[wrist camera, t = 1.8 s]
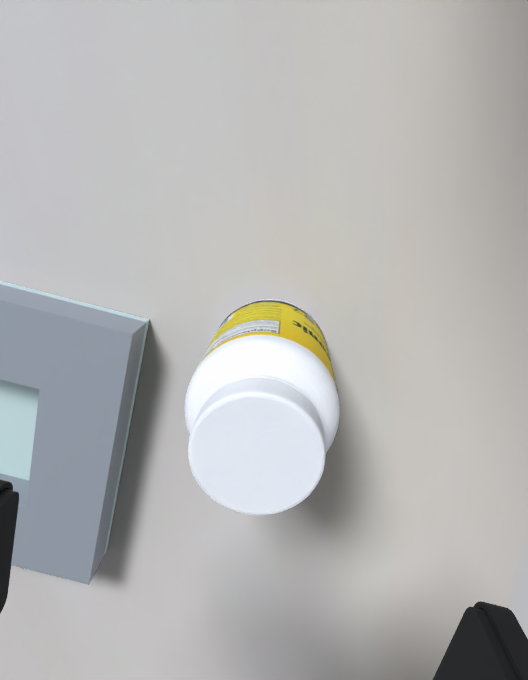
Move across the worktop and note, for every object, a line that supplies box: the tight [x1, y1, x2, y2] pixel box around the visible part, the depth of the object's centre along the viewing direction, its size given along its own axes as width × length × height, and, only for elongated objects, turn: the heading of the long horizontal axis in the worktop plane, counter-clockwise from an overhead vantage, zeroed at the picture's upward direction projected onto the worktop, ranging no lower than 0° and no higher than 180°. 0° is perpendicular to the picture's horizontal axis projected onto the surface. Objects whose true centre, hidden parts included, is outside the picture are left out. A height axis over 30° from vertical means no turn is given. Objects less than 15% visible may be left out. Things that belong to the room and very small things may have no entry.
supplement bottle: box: [185, 299, 340, 515], centre depth 18 cm, size 5×5×10 cm
